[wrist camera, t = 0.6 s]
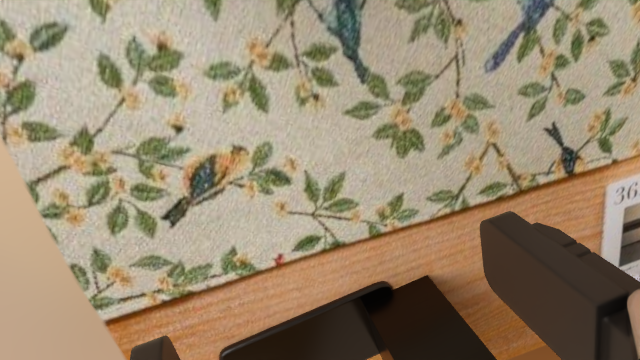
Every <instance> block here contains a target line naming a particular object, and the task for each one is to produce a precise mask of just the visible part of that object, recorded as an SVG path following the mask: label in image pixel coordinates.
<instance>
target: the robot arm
mask: <svg viewBox="0 0 640 360" xmlns="http://www.w3.org/2000/svg"><path fill="white" fill-rule="evenodd" d="M480 236H481V246H482V256H483V267H484V273H485V276H486V279H487V281H488V283H489V285H490V287H491V288H492V290H493V291H494V292H495V293H496V295H497V296H498V297H499V298H500V299H501V300H502V301H503V302H504V303H506V304H507V305H508V306H509V307H510V308H511V309H512V310H513V311H514V312H515V313H516V314H517V315H518V316H519V317H520V318H521V319H522V320H523V321H524V322H525V323H526V324H527V325H528V326H529V327H530V328H531V329H532V330H533V331H534V332H535V333H536V334H537V335H538V336H539V337H540V338H541V339H542V340H543V341H544V342H545V343H546V344H547V345H548V346H549V347H550V348H551V349H552V350H553V351H554V352H555V353H556V354H557V355H558V356H559V357H560V358H561V359H562V360H640V282H639V281H637V280H636V279H634V278H633V277H631V276H630V275H628V274H627V273H625V272H624V271H622V270H620V269H619V268H617V267H616V266H614V265H613V264H611V263H610V262H608V261H607V260H605V259H604V258H602V257H601V256H599V255H597V254H596V253H594V252H593V253H592V252H591V251H590V249H588V248H587V247H585V246H584V245H582V244H581V243H577V242H576V240H574V239H573V238H571V237H570V236H568V235H567V234H565V233H564V232H562V231H561V230H559V229H556V228H553V227H550V226H547V225H543V224H540V223H534V224H530V223H529V222H527V221H526V220H524V219H523V218H521V217H520V216H518V215H517V214H516V213H514V212H511V211H508V212H505V213H503V214H500V215H497V216H494V217H492V218H489V219H486V220H483V221H482V222H481V224H480ZM130 360H180V358H179V356H178V354H177V352H176V350H175V348H174V346H173V344H172V342H171V340H170V339H169V337H168V336H163V337H160V338H157V339H154V340H152V341H149V342H146V343H143V344H141V345H138V346H135V347H133V348H132V351H131V357H130Z"/></svg>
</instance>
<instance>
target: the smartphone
mask: <svg viewBox="0 0 640 360" xmlns="http://www.w3.org/2000/svg"><path fill="white" fill-rule="evenodd" d="M392 293H393V291H392V288H391V286H390V285H389V284H388V283H387V282H385V281H380V282H376V283H374V284H372V285H369V286H367V287H365V288H362V289H360V290H358V291H355V292H353V293H351V294H348V295H346V296H343V297H341V298H339V299H336V300H334V301H332V302H329V303H327V304H325V305H322V306H320V307H318V308H315V309H313V310H311V311H308V312H306V313H304V314H301V315H299V316H297V317H294V318H292V319H290V320H287V321H285V322H283V323H280V324H278V325H276V326H273V327H271V328H269V329H266V330H264V331H262V332H259V333H257V334H255V335H252V336H250V337H248V338H245V339H243V340H241V341H238V342H236V343H234V344H231V345H229V346H227V347H225V348H224V349H223V350H222V351H221V352H220V355H219V360H367V359H369V358H371V357H373V356H375V355H378V354H380V352H379V349H378V346H377V343H376V340H375V337H374V334H373V331H372V328H371V325H370V322H369V319H368V316H367V313H366V310H365V306H367V305H369V304H372V303H374V302H376V301H378V300H381V299H383V298H385V297H387V296H390V295H391V294H392Z"/></svg>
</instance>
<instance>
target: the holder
mask: <svg viewBox="0 0 640 360" xmlns="http://www.w3.org/2000/svg"><path fill="white" fill-rule="evenodd" d="M392 291H393V293H392V294H391V295H390V296H387V297H385V298H383V299H381V300H378V301H376V302H374V303H372V304H369V305H367V306H365V310H366V313H367V316H368V319H369V322H370V325H371V328H372V331H373V334H374V337H375V340H376V343H377V346H378V349H379V352H380V355H381V357H382V359H383V360H497V359H496V358H495V357H494V356H493V354H492V353H491V352H490V351H489V350H488V348H487V347H486V346H485V345H484V343H483V342H482V341H481V340H480V339H479V337H478V336H477V335H476V334H475V333H474V331H473V330H472V329H471V328H470V326H469V325H468V324H467V323H466V322H465V320H464V319H463V318H462V317H461V316H460V314H459V313H458V312H457V311H456V309H455V308H454V307H453V306H452V305H451V303H450V302H449V301H448V300H447V298H446V297H445V296H444V295H443V294H442V292H441V291H440V290H439V289H438V288H437V286H436V285H435V284H434V283H433V281H432V280H431V279H430V278H429V277H428V275H427V276H424V277H422V278H420V279H417V280H415V281H413V282H411V283H408V284H406V285H404V286H402V287H399V288H397V289H395V290H392Z"/></svg>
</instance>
